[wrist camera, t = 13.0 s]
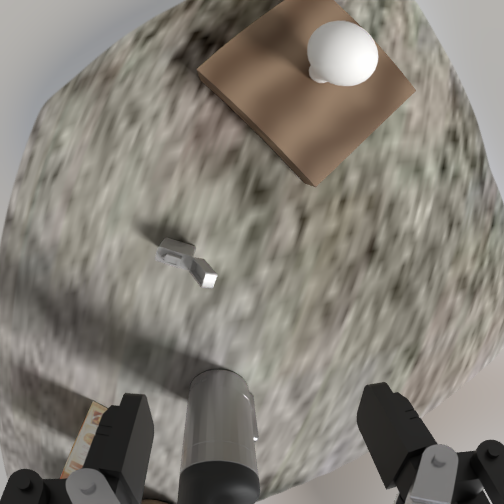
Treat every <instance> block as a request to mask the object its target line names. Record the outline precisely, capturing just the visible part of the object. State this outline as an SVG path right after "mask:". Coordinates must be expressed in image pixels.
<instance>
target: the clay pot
mask: <svg viewBox="0 0 504 504" xmlns="http://www.w3.org/2000/svg"><path fill="white" fill-rule="evenodd" d="M141 504H168V503H165V502H162V501H159V500H151V499H146V500H142V502H141Z"/></svg>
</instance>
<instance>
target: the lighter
mask: <svg viewBox="0 0 504 504" xmlns="http://www.w3.org/2000/svg"><path fill="white" fill-rule="evenodd" d="M195 250H196V247H195V246H193V245H190V244H187V243H183V242H180V241H177V240H174V239H170V238H167V237H166V238H164V240H163V241H162V242H161V244H160V245H159V246H158V248H157V252H156V256H155V260H156V261H159V262H162V263H164V264H167V265H171V266H174V267H177V268H181V269H185V270H189V272H190V273H191V275H192V276H193V277H194V279H195V280H196V281H197V283H198V284H199V285H200V287H204V288H213V287H214V283H215V280H216V277H217V273H216V272H215V271H214V270H213V269H212V268H211V266H210V265H209V264H208V263H207V262H206V261H205V260H204V259H201V258H194V257H193V256H194V253H195Z"/></svg>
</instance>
